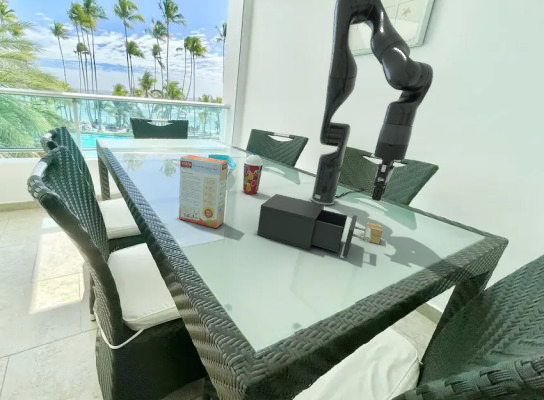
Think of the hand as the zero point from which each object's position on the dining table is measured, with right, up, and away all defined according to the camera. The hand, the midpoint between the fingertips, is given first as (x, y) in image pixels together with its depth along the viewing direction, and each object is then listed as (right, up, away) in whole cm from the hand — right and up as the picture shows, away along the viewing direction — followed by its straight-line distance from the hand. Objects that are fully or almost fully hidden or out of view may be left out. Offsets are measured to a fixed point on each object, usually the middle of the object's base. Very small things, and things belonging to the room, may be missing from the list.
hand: (377, 196), depth 80 cm
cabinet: (-25, -12, +5) cm, 28 cm away
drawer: (-14, -13, -1) cm, 20 cm away
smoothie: (-34, +2, +43) cm, 55 cm away
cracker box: (-53, -8, +9) cm, 55 cm away
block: (+1, -13, +6) cm, 15 cm away
